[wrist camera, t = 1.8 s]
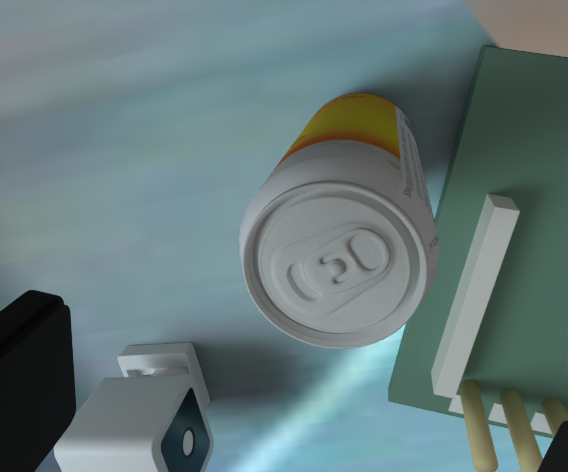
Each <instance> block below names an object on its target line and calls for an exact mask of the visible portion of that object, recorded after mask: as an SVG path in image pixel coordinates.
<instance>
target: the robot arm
mask: <svg viewBox="0 0 568 472" xmlns="http://www.w3.org/2000/svg"><path fill="white" fill-rule="evenodd" d="M75 412H76V397H75V380H74V364H73V348H72V332H71V316H70V309H69V307H68V306H67V305H64V302H63V299H62V298H61V297H60V296H58V295H53V294H49V293H44V292H40V291H36V290H29V291H27V292H25V293H24V294H22V295H21V296H20V297H19V298H17V299H16V300H15V301H13V302H12V303H11V304H9V305H8V306H7V307H6V308H4V309H3V310H2V311H0V472H34V471H35V470H36V469H37V467H38V466H39V465H40V464H41V462H42V461H43V460H44V458H45V457H46V456H47V455H48V453H49V452H50V451H51V449H52V448H53V447H54V445H55V444H56V443H57V442H58V440H59V439H60V438H61V436H62V435H63V434H64V433H65V431H66V430H67V429H68V427H69V426H70V424H71V423H72V421H73V418H74V416H75ZM537 472H568V421H564V422H562V424H561V425H560V427H559V429H558V431H557V433H556V435H555V437H554V439H553V441H552V443H551V445H550V447H549V449H548V451H547V453H546V455H545V457H544V459H543V461H542V463H541V465H540V467H539V469H538V471H537Z"/></svg>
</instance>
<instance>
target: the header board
mask: <svg viewBox="0 0 568 472" xmlns="http://www.w3.org/2000/svg"><path fill="white" fill-rule="evenodd" d="M434 221H435V226H436V230H437V234H438V239H439V249H440V252H439V264H438V270H437V274H436V277H435V280H434V283H433V285H432V287H431V289H430V291H429V293H428V294H427V296H426V297H425V299H424V301H423V302H422V303H421V304H420V305H419V307H418V308H417V310H416V311H415V313H414V314H413V316H412V317H411V318H410V319H409V320H408V322H406V326H405V329H404V333H403V337H402V340H401V344H400V348H399V351H398V355H397V359H396V362H395V366H394V370H393V373H392V377H391V381H390V384H389V388H388V401H390V402H394V403H399V404H403V405H408V406H412V407H416V408H421V409H425V410H430V411H434V412H438V413H443V414H447V415H452V416H456V417H460V418H465V424H466V429H467V434H468V439H469V444H470V449H471V455H472V460H473V465H474V468H475V469H476V470H477V471H478V472H494V471H496V470H497V468H498V462H497V458H496V454H495V450H494V446H493V442H492V438H491V434H490V430H489V426H488V424H491V425H496V426H500V427H504V428H509V431H510V435H511V438H512V441H513V445H514V448H515V452H516V455H517V458H518V462H519V465H520V468H521V472H537V471H538V469H539V467H540V465H541V463H542V461H543V458H542V456H541V453H540V450H539V447H538V444H537V441H536V439H535V436H534V434H535V435H540V436H544V437H549V438H553V439H554V437H555V435H556V433H557V431H558V429H559V427H560V425H561V424H562V422H564V421H568V57H561V56H554V55H546V54H539V53H531V52H525V51H517V50H510V49H503V48H496V47H489V46H482V47H481V51H480V55H479V58H478V62H477V66H476V69H475V73H474V77H473V80H472V84H471V88H470V91H469V95H468V99H467V102H466V106H465V110H464V113H463V117H462V121H461V124H460V128H459V132H458V135H457V139H456V143H455V146H454V150H453V154H452V157H451V161H450V165H449V168H448V172H447V176H446V179H445V183H444V187H443V190H442V194H441V198H440V201H439V205H438V209H437V212H436V216H435V220H434Z"/></svg>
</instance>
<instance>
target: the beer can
mask: <svg viewBox="0 0 568 472" xmlns="http://www.w3.org/2000/svg"><path fill="white" fill-rule="evenodd" d="M239 252H240V259H241V263H242V268H243V275H244V279H245V283H246V286H247V289H248V292H249V294H250V296H251V298H252V300H253V302H254V303H255V305H256V306H257V308H258V309H259V310H260V311H261V313H262V314H263V315H264V316H265V317H266V318H267V319H268V320H269V321H270V322H271V323H272V324H273V325H274V326H276V327H277V328H278V329H279V330H281V331H283V332H284V333H286V334H287V335H289V336H291V337H293V338H295V339H297V340H299V341H302V342H304V343H307V344H311V345H314V346H318V347H324V348H332V349H348V348H357V347H362V346H366V345H369V344H373V343H376V342H378V341H380V340H383V339H385V338H386V337H388V336H390V335H392V334H393V333H395V332H396V331H397V330H399V329H400V328H401V327H402V326H403V325H404V324H405V323H406V322H408V320H409V319H410V318H411V317H412V316H413V314H414V313H415V311H416V310H417V308H418V307H419V305H420V304H421V303H422V302H423V301H424V299H425V297H426V296H427V294H428V293H429V291H430V289H431V287H432V285H433V283H434V280H435V277H436V274H437V270H438V264H439V252H440V249H439V239H438V234H437V230H436V226H435V221H434V217H433V213H432V208H431V204H430V200H429V195H428V191H427V187H426V183H425V178H424V174H423V170H422V165H421V161H420V157H419V153H418V148H417V144H416V140H415V135H414V132H413V129H412V126H411V124H410V122H409V120H408V119H407V117H406V116H405V114H404V113H403V112H402V111H401V110H400V109H399V108H398V107H397V106H396V105H394V104H393V103H391V102H390V101H388V100H386V99H384V98H382V97H380V96H377V95H373V94H367V93H353V94H347V95H343V96H340V97H338V98H335V99H333V100H331V101H330V102H328V103H327V104H325V105H324V106H323V107H322V108H320V109H319V110H318V111H317V112H316V114H315V115H314V116H313V118H312V119H311V120H310V122H309V123H308V124H307V126H306V127H305V128H304V130H303V131H302V132H301V134H300V135H299V137H298V138H297V139H296V141H295V142H294V143H293V145H292V146H291V147H290V149H289V150H288V151H287V153H286V154H285V156H284V157H283V158H282V160H281V161H280V162H279V164H278V165H277V166H276V168H275V169H274V170H273V172H272V173H271V175H270V176H269V177H268V179H267V180H266V181H265V183H264V184H263V185H262V187H261V188H260V189H259V191H258V192H257V194H256V195H255V196H254V198H253V199H252V200H251V202H250V204H249V206H248V208H247V210H246V212H245V215H244V217H243V220H242V224H241V228H240V236H239Z"/></svg>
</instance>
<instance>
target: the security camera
mask: <svg viewBox="0 0 568 472" xmlns="http://www.w3.org/2000/svg"><path fill="white" fill-rule="evenodd" d="M117 359H118V362H119V365H120V367H121V370H122V372H123V375H124V377H118V378H105V379H103V380H102V381H101V383H100V384H99V385H98V387H97V388H96V389H95V390H94V392H93V393H92V394H91V395H90V397H89V398H88V399H87V401H86V402H85V403H84V404H83V406H82V407H81V408H80V410H79V411H78V412H77V413H76V415H75V416H74V418H73V421H72V423H71V424H70V426H69V427H68V429H67V430H66V431H65V433H64V434H63V435H62V436H61V438H60V439H59V440H58V442H57V443H56V444H55V446H54V455H55V458H56V460H57V462H58V464H59V466H60V468H61V470H62V472H205V470H206V467H207V465H208V462H209V460H210V457H211V455H212V452H213V447H214V440H213V435H212V432H211V429H210V426H209V423H208V420H207V417H206V414H205V412H206V410H207V408H208V405H209V403H210V397H209V394H208V390H207V387H206V384H205V381H204V378H203V374H202V371H201V368H200V365H199V362H198V358H197V355H196V352H195V349H194V346H193V344H192V343H190V342H186V343H170V344H153V345H136V346H126V348H125V349H124V350H123V351H122V353H121V354H120V355H119V356H118V358H117ZM148 374H152V375H151V376H143V375H148Z"/></svg>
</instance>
